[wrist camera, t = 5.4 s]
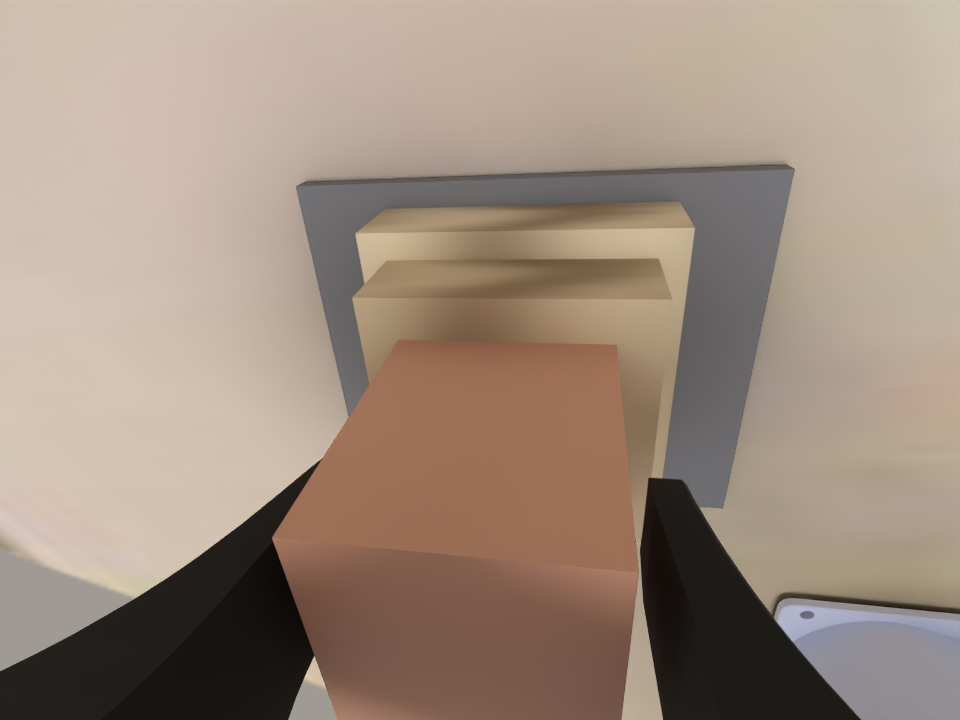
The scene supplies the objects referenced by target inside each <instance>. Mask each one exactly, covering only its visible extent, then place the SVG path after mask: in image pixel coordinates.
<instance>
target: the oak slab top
mask: <svg viewBox="0 0 960 720" xmlns="http://www.w3.org/2000/svg"><path fill="white" fill-rule="evenodd" d="M352 300H353V305H354V310H355V315H356V320H357V325H358V330H359V335H360V340H361V345H362V350H363V355H364V360H365V365H366V370H367V375H368V380H369V385H370V383H371V382H372V380H373V379H374V377H375V376H376V374H377V372H378V371H379V369H380V368H381V366H382V365H383V363H384V361H385V360H386V358H387V357H388V355H389V354H390V352H391V350H392V349H393V347H394V346H395V344H396V343H397V341H398V340H433V341H476V342H520V343H564V344H608V345H617V352H618V363H619V373H620V383H621V394H622V404H623V414H624V425H625V435H626V446H627V456H628V466H629V477H630V487H631V497H632V508H633V518H634V529H635V538H637V539H642V531H643V522H644V513H645V504H646V495H647V487H648V478H651V477H652V469H653V460H654V452H655V443H656V435H657V426H658V418H659V409H660V401H661V392H662V384H663V375H664V367H665V358H666V350H667V341H668V332H669V324H670V315H671V307H672V297H671V294H670V291H669V288H668V285H667V282H666V279H665V276H664V273H663V270H662V267H661V264H660V261H659V259H525V260H387V261H386V262H385V263H384V264H383V265H382V266H381V267H380V268H379V269H378V270H377V271H376V273H375V274H374V275H373V276H372V277H371V278H370V279H369V280H368V281H367V282H366V283H365V284H364V285H363V287H362V288H361V289H360V290H359V291H358V292H357V293H356V294H355V295H354V296H353V297H352Z"/></svg>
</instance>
